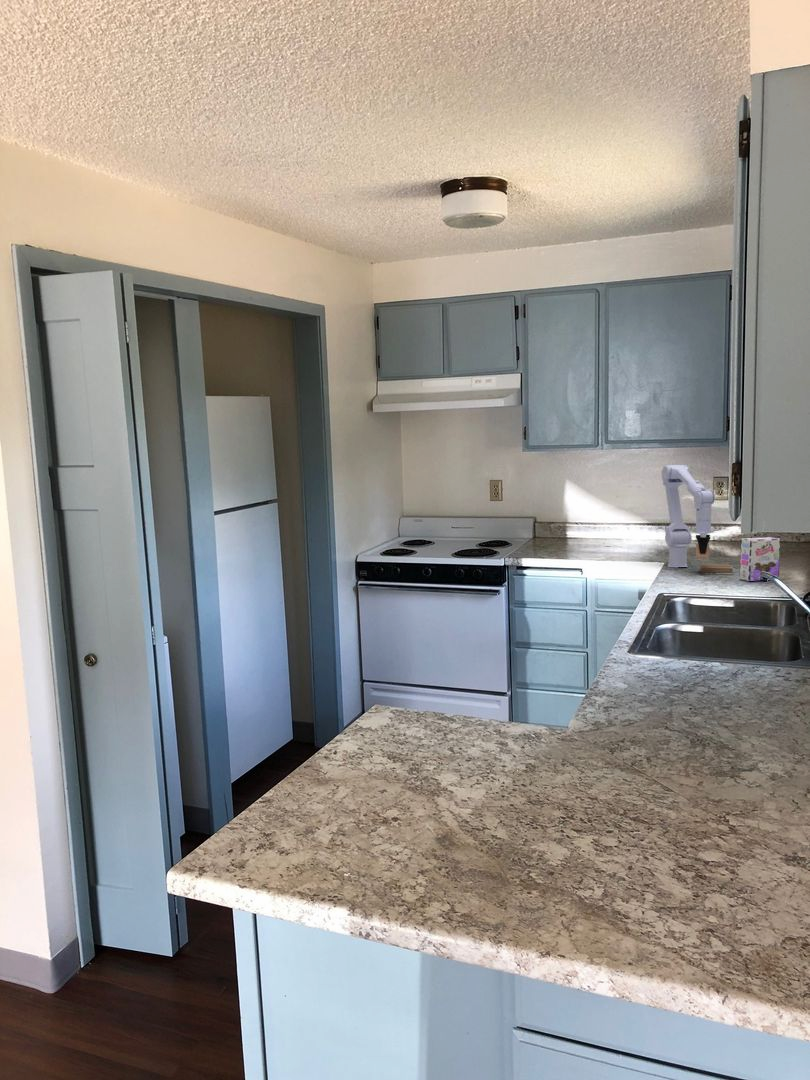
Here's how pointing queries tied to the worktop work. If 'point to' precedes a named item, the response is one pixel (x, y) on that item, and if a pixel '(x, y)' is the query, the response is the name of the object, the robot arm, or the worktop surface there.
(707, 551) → the terracotta cube
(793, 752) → the worktop surface
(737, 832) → the worktop surface
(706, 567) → the walnut block
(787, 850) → the worktop surface
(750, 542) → the candy box
